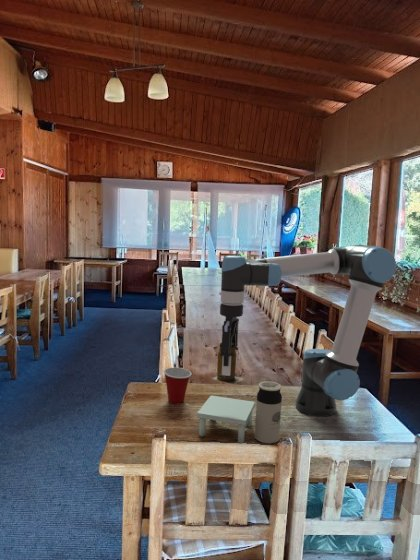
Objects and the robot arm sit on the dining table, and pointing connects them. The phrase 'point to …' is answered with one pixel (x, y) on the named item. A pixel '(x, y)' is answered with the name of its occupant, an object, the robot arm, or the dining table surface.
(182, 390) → the plastic cup
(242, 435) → the stool
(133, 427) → the dining table surface
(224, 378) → the condiment
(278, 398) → the travel mug
